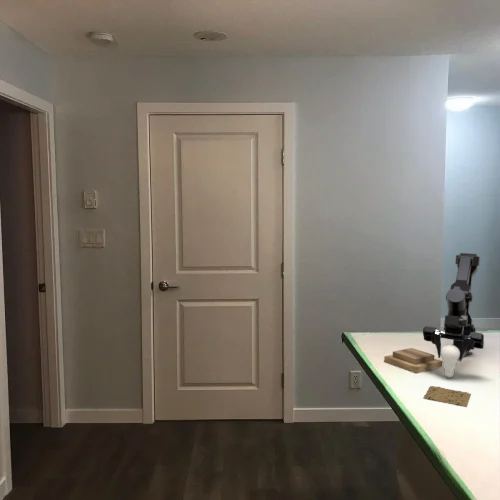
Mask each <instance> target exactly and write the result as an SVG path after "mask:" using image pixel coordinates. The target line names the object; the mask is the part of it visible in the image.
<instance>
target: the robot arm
mask: <svg viewBox="0 0 500 500" xmlns="http://www.w3.org/2000/svg"><path fill="white" fill-rule="evenodd" d="M454 263H455V265H456V267H457V272H456V278H455V281H454V282H453V283H452V284H451V285H450V288H449V290H448V291H447V292H446V295H445V300H446V304H447V309H448V310H447V315H445V316H444V323H443V330H444V331H440V330H437V327H436V326H431V325H430V326H428V325H425V326H424V327H423V329H422V335H423V340H424V341H425V342H431V343H432V344H433V345H435V348H436V350H437V357H438V358H437V359H440V358H441V355H440V352H441V349H442V341H441V339H446V340H450V341H451V340H452V345H454V346H456V347H457V348H458V349H459V351H460V358H459V360H458V362H462V361H463V359H464V358H465V357H467V356H471V355H472V354H473V352H472V351H473V350H475V349H478V350H479V349H481V350H483V349H484V345H485V335H484V334H483V333H482V332H476V330H477V329H476V327H475V324H473V319H472V316H471V315H470V305H471V303H472V301H474V296H473V294H472V286H473V285H472V284H473V277H474V276H475V274H476V273H477V272H478V270H479V269H478V268H479V267H480V265H481V256H478V253H469V252H467V253H465V252H460V253H459V254H456V255H455V262H454Z"/></svg>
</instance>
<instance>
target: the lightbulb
mask: <svg viewBox="0 0 500 500" xmlns="http://www.w3.org/2000/svg"><path fill="white" fill-rule="evenodd" d="M440 355H441V356H440V358H441V361H443V365H444V366H443V367H444V368H443V369H444V375H445V376H446V377H447V378H449V379H450V378H452V377H454V372H455V369H456V365H457V363H458V362H459V358H460V351H459V349H458V348H457V347H456V346H454V345H453V344H445V345H444V346H443V347H441V352H440Z"/></svg>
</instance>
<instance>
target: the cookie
mask: <svg viewBox="0 0 500 500" xmlns="http://www.w3.org/2000/svg"><path fill="white" fill-rule="evenodd" d="M471 395H472V393H469V392H468V391H467V392H466V391H461V390H454V389H449V388H445V387H441V386H434V385H431V386H429V387H428V389H427V391H426V392H425V394H424V396H423V398H422V399H424V400H428V401H432V402H438V403H442V404H443V403H444V404H447V405H453V406H459V407H463V408H468V406H469V405H468V404H469V401H470V400H471Z"/></svg>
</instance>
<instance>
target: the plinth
mask: <svg viewBox="0 0 500 500" xmlns="http://www.w3.org/2000/svg"><path fill="white" fill-rule="evenodd" d="M383 357H384V358H383V363H386V364H388V365H389V364H390V365H391V366H395V367H397V368H399V369H403V370H405V371H408V372H412V373H414V374H419V373H424V372H425V371H426V372H427V371H431V370H434V369H439V368H442V367H443V365H444V362H443V360H441V359H438V358H437V359H436V358H435V354H432V353H429V352H426V351H423V350H420V349H417V348H414V347H409V348H404V349H399V350H394V351H392V354H391V355H390V354H389V355H385V356H383Z"/></svg>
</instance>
